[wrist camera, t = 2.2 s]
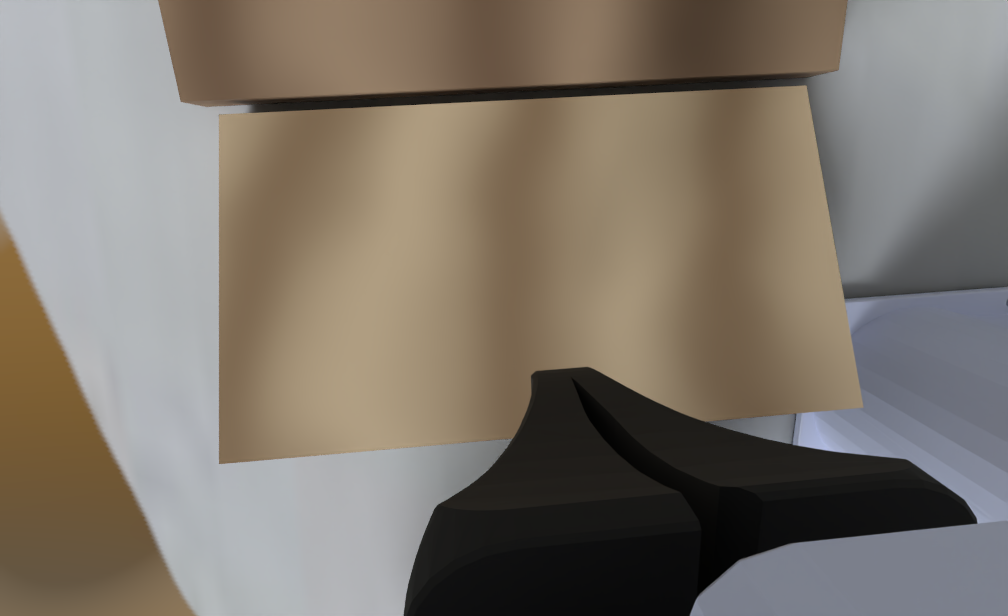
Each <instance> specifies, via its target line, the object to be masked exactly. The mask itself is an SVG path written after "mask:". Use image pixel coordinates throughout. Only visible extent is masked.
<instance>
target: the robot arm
mask: <svg viewBox="0 0 1008 616" xmlns="http://www.w3.org/2000/svg"><path fill="white" fill-rule="evenodd" d="M844 300H845V306H846V311H847V317H848V323H849V328H850V334H851V339H852V345H853V351H854V356H855V362H856V368H857V373H858V379H859V384H860V390H861V396H862V401H863V407H864V408H854V409H843V410H831V411H820V412H808V413H797V415H796V423H795V430H794V438H793V445H791V444H786V443H782V442H777V441H772V440H767V439H763V438H759V437H755V436H751V435H748V434H744V433H740V432H736V431H732V430H729V429H726V428H722V427H719V426H716V425H713V424H710V423H707V422H704V421H702V420H699V419H696V418H693V417H690V416H688V415H685V414H683V413H680V412H678V411H675V410H673V409H671V408H669V407H666V406H664V405H662V404H660V403H658V402H655V401H653V400H651V399H649V398H647V397H645V396H643V395H641V394H639V393H637V392H635V391H634V390H632V389H630V388H628V387H626V386H624V385H622V384H621V383H619V382H617V381H615V380H613V379H612V378H610V377H608V376H606V375H604V374H602V373H601V372H599V371H597V370H595V369H593V368H590V367H578V368H566V369H553V370H541V371H535V372H534V373H533V374H532V375H531V398H530V402H529V405H528V408H527V411H526V413H525V416H524V418H523V420H522V422H521V425H520V427H519V429H518V431H517V432H516V434H515V436H514V438H513V439H512V441H511V442H510V444H509V445H508V447H507V448H506V450H505V451H504V452H503V453H502V455H501V456H500V457H499V459H498V460H497V461H496V462H495V463H494V465H493V466H492V467H491V468H490V469H489V470H488V471H487V472H486V473H485V474H483V475H482V476H481V477H480V478H479V479H477V480H476V481H475V482H474V483H472V484H471V485H470V486H468V487H467V488H465V489H464V490H462V491H460V492H459V493H457V494H455V495H454V496H452V497H451V498H449V499H447V500H446V501H444V502H442V503H440V504H438V505H437V507H436V508H435V509H434V511H433V514H432V516H431V518H430V521H429V523H428V525H427V528H426V530H425V533H424V535H423V538H422V541H421V544H420V546H419V549H418V552H417V555H416V558H415V562H414V565H413V569H412V573H411V576H410V580H409V584H408V589H407V594H406V601H405V609H404V616H1008V301H1007V300H1008V287H998V288H985V289H972V290H958V291H945V292H931V293H918V294H905V295H891V296H878V297H865V298H851V299H844Z"/></svg>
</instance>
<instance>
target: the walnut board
mask: <svg viewBox="0 0 1008 616" xmlns="http://www.w3.org/2000/svg"><path fill="white" fill-rule="evenodd" d="M158 1H159V6H160V10H161V15H162V19H163V24H164V28H165V33H166V37H167V42H168V46H169V51H170V55H171V60H172V64H173V69H174V73H175V77H176V82H177V86H178V91H179V95H180V100H181V102H185V103H190V104H195V105H200V106H205V107H211V106H232V105H252V104H273V103H293V102H314V101H334V100H355V99H375V98H396V97H416V96H437V95H457V94H478V93H498V92H519V91H539V90H560V89H580V88H601V87H621V86H642V85H662V84H683V83H703V82H723V81H744V80H764V79H785V78H805V77H811V76H816V75H820V74H824V73H828V72H833V71H837V70H839V63H840V55H841V47H842V40H843V32H844V24H845V16H846V9H847V1H848V0H158Z"/></svg>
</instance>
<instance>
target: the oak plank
mask: <svg viewBox="0 0 1008 616" xmlns="http://www.w3.org/2000/svg"><path fill="white" fill-rule="evenodd" d="M578 367H590V368H593V369H595V370H597V371H599V372H601V373H602V374H604V375H606V376H608V377H610V378H612V379H613V380H615V381H617V382H619V383H621V384H622V385H624V386H626V387H628V388H630V389H632V390H634V391H635V392H637V393H639V394H641V395H643V396H645V397H647V398H649V399H651V400H653V401H655V402H658V403H660V404H662V405H664V406H666V407H669V408H671V409H673V410H675V411H678V412H680V413H683V414H685V415H688V416H690V417H693V418H696V419H699V420H702V421H704V422H705V421H717V420H728V419H740V418H751V417H763V416H774V415H785V414H797V413H808V412H820V411H831V410H843V409H854V408H864V407H863V401H862V396H861V390H860V384H859V379H858V373H857V368H856V362H855V356H854V351H853V345H852V339H851V334H850V328H849V323H848V317H847V311H846V306H845V300H844V294H843V289H842V283H841V278H840V272H839V266H838V261H837V255H836V249H835V244H834V238H833V233H832V227H831V221H830V216H829V210H828V204H827V199H826V193H825V188H824V182H823V176H822V171H821V165H820V159H819V154H818V148H817V142H816V137H815V131H814V126H813V120H812V114H811V109H810V103H809V97H808V92H807V86H806V85H805V86H785V87H765V88H745V89H725V90H705V91H685V92H665V93H645V94H625V95H604V96H584V97H564V98H544V99H524V100H504V101H484V102H464V103H444V104H424V105H403V106H383V107H363V108H343V109H323V110H303V111H283V112H263V113H243V114H223V115H219V464H225V463H237V462H248V461H259V460H271V459H282V458H294V457H305V456H317V455H328V454H339V453H351V452H362V451H374V450H385V449H397V448H408V447H420V446H431V445H442V444H454V443H465V442H477V441H488V440H500V439H511V438H514V436H515V434H516V432H517V431H518V429H519V427H520V425H521V422H522V420H523V418H524V416H525V413H526V411H527V408H528V405H529V402H530V398H531V375H532V374H533V373H534V372H535V371H541V370H553V369H566V368H578Z"/></svg>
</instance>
